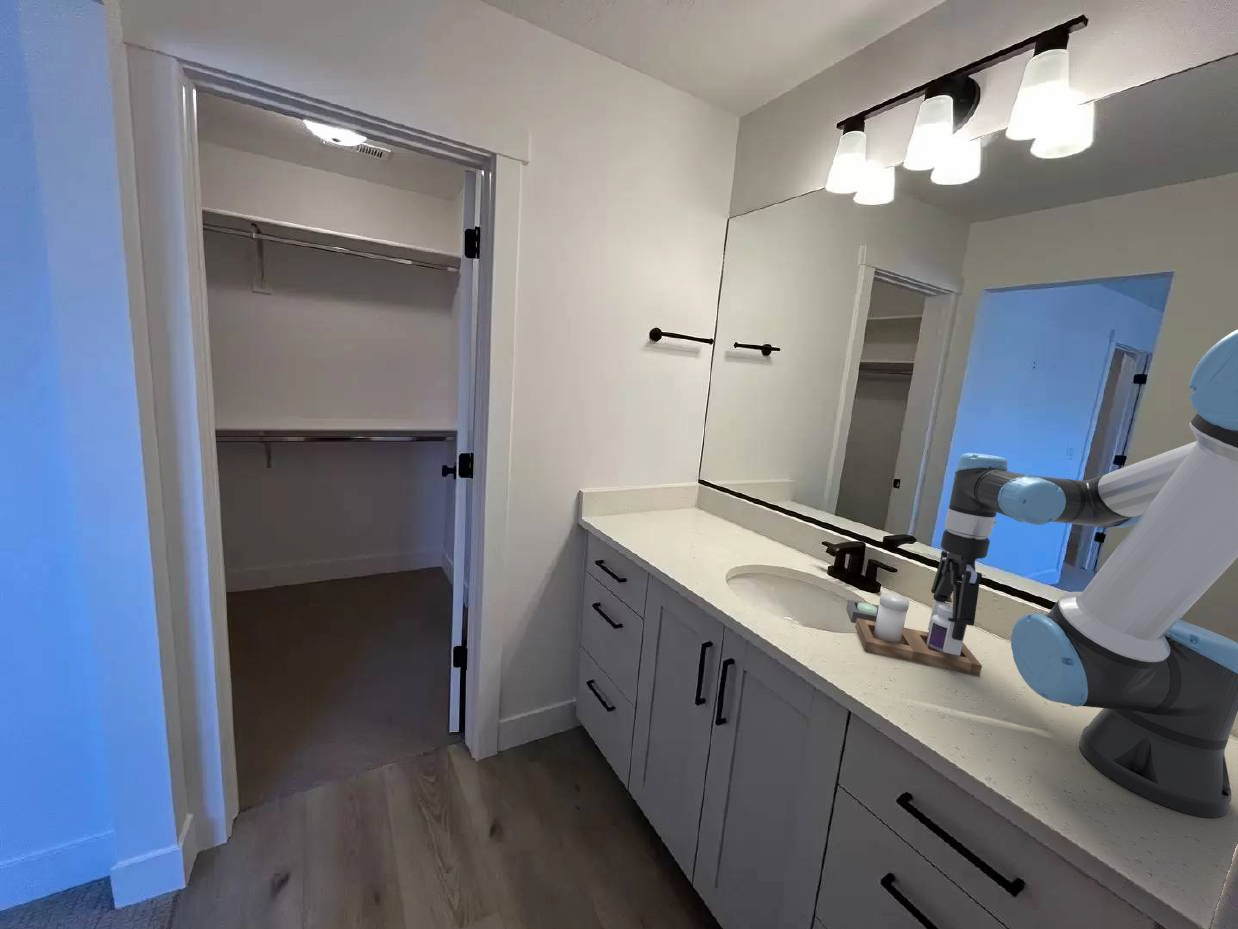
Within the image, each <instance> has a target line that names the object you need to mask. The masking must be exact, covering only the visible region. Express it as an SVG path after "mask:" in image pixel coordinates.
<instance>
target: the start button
mask: <svg viewBox="0 0 1238 929" xmlns="http://www.w3.org/2000/svg"><path fill="white" fill-rule="evenodd" d="M871 604H872V603H869V604H868V602H864V603H858V606H857V610H858V611H862V612H867V613H872V614H876V613H877V608H876V607H875V606H873V605H871Z"/></svg>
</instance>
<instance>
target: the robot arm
mask: <svg viewBox="0 0 1238 929" xmlns="http://www.w3.org/2000/svg"><path fill="white" fill-rule="evenodd" d="M1188 387H1189V388H1190V389H1192V390H1193V392H1192V393H1190V394H1189V400H1190V403H1191V405H1192V407H1193V409H1194V411H1195V412H1196V414H1195V415H1194V416H1193V418H1191V420H1190V422H1189V425H1188V426H1189V428H1190V429H1191V432H1192V433H1193V435H1194V437H1195V438H1196V439H1195V440H1196V441H1193V442H1189V443H1186V444H1184V445H1182V446H1179V447H1176V448H1174V449H1170V450H1167V451H1165V452H1163V453H1159V454H1157V455H1154V456H1151V457H1150V458H1149V457H1148V458H1146V459H1143V460H1140V461H1137V462H1135V463H1132V464H1130V465H1127V466H1125V467H1122V468H1119V469H1116V470H1114V471H1111V472H1109V473H1106V474H1103V475H1099V476H1097V477H1094V478H1091V479H1087V480H1086V479H1085V480H1083V479H1082V480H1081V479H1070V478H1061V477H1060V478H1059V477H1049V476H1039V475H1031V474H1030V475H1029V474H1023V473H1018V472H1012V471H1008V464H1009V462H1008V460H1007V459H1006V458H1005V457H1002V456H997V455H991V454H985V453H975V452H965V453H963V454H961V455H960V457H959V460H958V464H957V468H956V470H955V471H954V474H955V475H954V479H953V483H952V484H953V485H952V489H951V495H950V500H949V505H948V506H949V507H948V508H947V511H946V512H947V513H946V516H945V522H944V527H945V528H946V529H945V530H943V534H942V538H941V543H940V547H941V549H942V550H941V552H940V561H939V564H938V566H937V570H936V574H935V577H934V580H933V583H932V587H931V589H930V590H931V594H933V602H932V603H933V604H932V609H931V613H930V619H929V623H928V627H927V630H928V631H929V628H930V623H931V619H932V617H933V616H934V615H938V613H937V610H938V606H939V605H947V606H951V604H950V603H952V607H953V615H952V618H948V621H949V624H948V628H947V633H946V638H945V642H944V647H943V652H945V653H950V654H954V655H959V656H960V653H961V649H962V644H963V643H964V639H965V635H966V632H967V631H966V630H967V627H968V626H972V627H974V625H975V621H976V620H975V619H976V612H977V606H978V597H979V588H980V584H981V581H982V578H983V573H981V572H976V560H979V559H980V560H981V559H984V558H986V557H987V556H988V553H989V549H990V543H991V540H990V539H989V537H991V536H992V533H993V529H994V526H995V525H996V526H997V522H998V521H997V520H995V519H996V516H997V514H999V515H1002V516H1006V517H1008V518H1010V519H1012V520H1015V521H1016V522H1020V523H1027V524H1030V525H1036V526H1042V525H1045V524H1049V523H1059V524H1061V523H1062V524H1069V525H1070V524H1072V525H1078V526H1079V525H1080V526H1086V527H1087V526H1089V527H1096V528H1101V529H1110V528H1114V529H1115V528H1116V529H1121V528H1122V529H1124V528H1128V527H1131V528H1130V530H1129V531H1128V532H1127V533H1126V535H1125V536H1124V538H1123V539H1122V540H1121V542H1120V543H1119V544H1118V545H1117V546H1116V548H1114V551H1113V552H1112V553H1111V554H1110V556H1109V557H1108V558H1107V560H1106V561H1105V562H1104V563H1103V565H1102V566H1101V567H1100V569H1099V571H1098V572H1096V574H1095V575H1094V577H1093V578H1092V579H1091V580H1090V581H1089V583H1088V585H1087V586H1086V587H1085V588H1084V590H1083V591H1069V592H1066V593H1064V594H1063V595H1061V596H1060V597H1059V599H1058V600H1057V601H1056V603H1055V604H1054V605H1053V607H1052V608H1051V610H1050V611H1049V612H1048V613H1046V614H1042V613H1039V612H1037V613H1036V612H1035V613H1034V612H1033V613H1031V614H1030V613H1029V614H1025V615H1023V616H1021V617H1019V618H1018V619H1017V620H1016V622H1015V624H1014V625H1013V627H1012V630H1011V635H1010V648H1011V651H1012V657H1013V658H1012V659H1013V660H1014V664H1015V665H1016V669H1017V671H1018V673H1019V674H1020V676H1021V678H1022V679H1023V681H1024V683H1025V684H1026V685H1027V686H1028V687H1029V688H1030V689H1031V690H1032V691H1033V692H1034V693H1036V694H1037V695H1039V696H1041V697H1042V698H1043V699H1046V700H1048V701H1050V702H1054V703H1060V704H1065V705H1069V706H1071V707H1075V708H1076V707H1088V708H1099V709H1101V710H1100V711H1099V713H1097V715H1095V717H1093V719H1092V720H1091V721H1090V723H1089V724H1088V725H1086V726H1085V727H1084V728H1083V730H1082V731H1081V735H1080V739H1079V743H1078V747H1079V750H1080V752H1081V754H1082V755H1083V757H1084V758H1085V759H1086V760H1087V761H1088V762H1089V763H1090V764H1091V765H1093V767H1094V768H1096V769H1097V770H1098V771H1100V772H1101V773H1102V774H1104V775H1105V776H1106V777H1108V778H1110V779H1111V780H1112V781H1114V782H1115V783H1117V784H1119V785H1121V786H1122V787H1124V788H1125V789H1128V790H1129V791H1132V792H1133V793H1135V794H1137V795H1139V796H1141V797H1143V798H1146V799H1147V800H1150V801H1152V802H1154V803H1157V804H1159V805H1161V806H1164V807H1167V808H1169V809H1172V810H1175V811H1178V812H1181V813H1184V814H1188V815H1192V816H1196V817H1204V818H1221V817H1223V816H1225V815H1226V814H1228V813H1227V812H1228V810H1229V807H1230V806H1231V805H1230V804H1231V802H1232V790H1231V784H1230V777H1229V772H1228V766H1227V761H1226V755H1225V752H1226V747H1227V744H1228V741H1229V740H1230V739H1229V738H1230V734H1231V732H1232V730H1233V727H1234V724H1235V721H1236V718H1237V714H1238V642H1237V641H1235V640H1232V639H1230V638H1228V637H1226V636H1223V635H1221V634H1219V633H1216V632H1214V631H1211V630H1209V629H1207V628H1204V627H1202V626H1199V625H1195V624H1192V623H1190V622H1187V621H1185V620H1182V617H1183V616H1184V615H1186V613H1187V612H1188V611H1189V610H1190V609H1191V608H1192V606H1194V605H1195V604H1196V602H1198V600H1200V598H1201V597H1202V596H1203V595H1204V594H1205V593H1206V592H1207V591H1208V590H1209V589H1210V588H1211V587H1212V586H1213V584H1214V583H1215V582H1216V581H1217V580H1218V579H1219V578H1220V577H1221V576H1222V575H1223V574H1224V573H1225V572H1226V571H1227V570H1228V568H1229V567H1230V566H1231V565H1233V563H1235V561H1236V560H1237V559H1238V328H1237V329H1236V330H1234V331H1232V332H1230V333H1229V334H1227V335H1226V336H1224V337H1223V338H1221V339H1220V340H1218V342H1216V343H1215V344H1214V345H1213V346H1212V347H1210V348H1209V350H1208V351H1207V352H1206V353H1204V354H1203V356H1202V357H1201V358H1200V360H1199V361H1198V362H1197V364H1196V366H1195V367H1194V369H1193V371H1192V374H1191V377H1190V380H1189V384H1188ZM951 596H952V597H951Z"/></svg>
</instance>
